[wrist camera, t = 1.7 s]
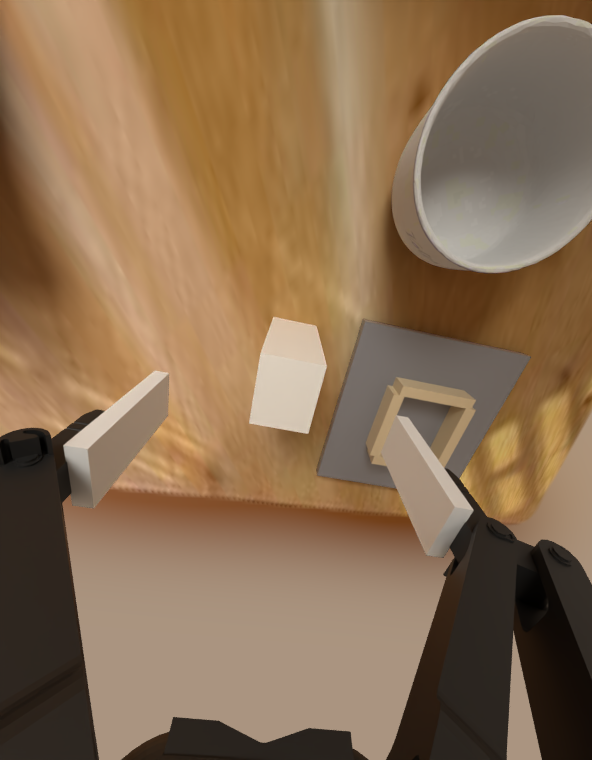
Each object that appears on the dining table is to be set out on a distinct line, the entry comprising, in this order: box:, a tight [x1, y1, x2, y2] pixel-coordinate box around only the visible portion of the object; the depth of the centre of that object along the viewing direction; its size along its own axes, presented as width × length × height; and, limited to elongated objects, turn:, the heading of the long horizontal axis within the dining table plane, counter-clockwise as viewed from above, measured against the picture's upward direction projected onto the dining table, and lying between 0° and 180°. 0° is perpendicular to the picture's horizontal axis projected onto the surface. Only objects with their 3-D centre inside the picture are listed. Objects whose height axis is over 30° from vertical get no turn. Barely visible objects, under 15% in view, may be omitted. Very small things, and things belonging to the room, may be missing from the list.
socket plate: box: [317, 319, 531, 489], centre depth 29 cm, size 18×16×3 cm
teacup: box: [392, 15, 592, 273], centre depth 18 cm, size 14×11×8 cm
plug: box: [249, 317, 327, 434], centre depth 22 cm, size 5×4×10 cm
